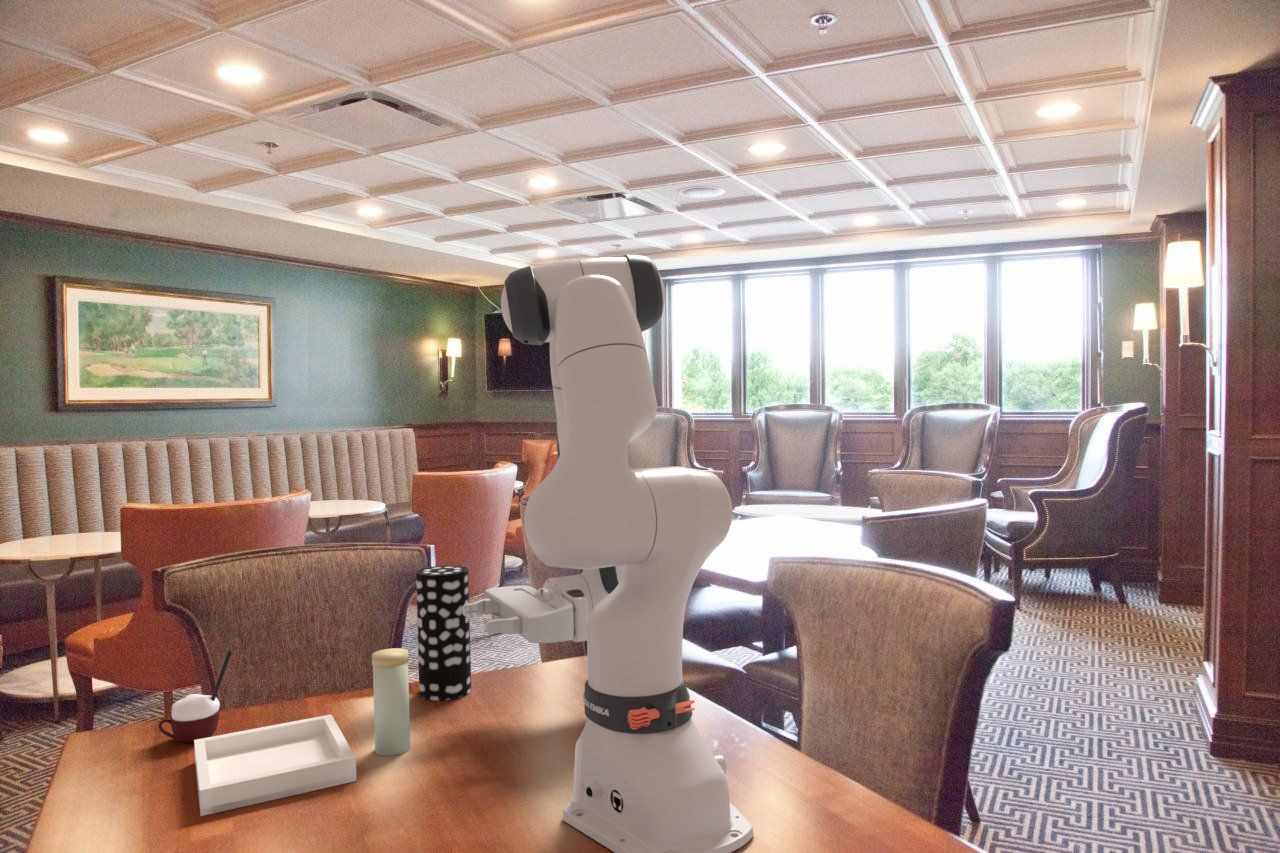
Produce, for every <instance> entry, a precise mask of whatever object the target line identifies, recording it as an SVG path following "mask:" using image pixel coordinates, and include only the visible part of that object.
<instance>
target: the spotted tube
mask: <svg viewBox="0 0 1280 853" xmlns="http://www.w3.org/2000/svg"><path fill="white" fill-rule="evenodd" d="M469 578H470V577H469V568H468V567H466V566H463V565H436V566H435V565H434V566H429V567H424V568H420V569H418V570H416V572H415V580H416V583H415V584H416V615H417V616H416V618H417V621H416V622H417V648H418V649H417V652H418V654H417V659H418V661H417V662H418V690H419V691H418V693H419V697H420V698H422V699H424V700H427V701H428V700H429V701H435V702H436V701H450V700H456V699H459V698H462V697H465V696H467V695H468V694H470V693H471V692H472V662H471V659H472V658H471V632H470V631H471V627H470V626H471V623H470V622H471V621H470V620H471V618H467V617H465V616H464V615H463V606H464V605H465V604H470V586H469V585H470V583H469V580H470V579H469Z"/></svg>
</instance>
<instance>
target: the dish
mask: <svg viewBox="0 0 1280 853" xmlns="http://www.w3.org/2000/svg"><path fill="white" fill-rule="evenodd" d="M193 744H194V745H193V746H194V747H193V748H194V766H195V776H196V785H197V786H196V787H197V795H198V805H199V814H200V815H199V816H200V817H204V816H207V815H213V814H217V813H222V812H225V811H230V810H234V809H238V808H243V807H248V806H252V805H256V804H260V803H265V802H270V801H274V800H278V799H283V798H287V797H291V796H295V795H296V796H297V795H301V794H305V793H309V792H313V791H317V790H322V789H327V788H330V787H331V788H332V787H335V786H340V785H345V784H348V783H354V782H357V757H356V755H355V753H354V751H353V750H352V748H351V746H350V744H349V743H348V741H347V740H346V737H345V736H344V734H343V732H342V731H341V729H340V727H339V725H338V723H337V722H336V720H335V719H334V717H333V715H332V713H331V714H326V715H320V716H316V717H310V718H303V719H299V720H294V721H289V722H282V723H279V724H278V723H276V724H274V725H273V724H271V725H267V726H261V727H257V728H251V729H246V730H241V731H240V730H239V731H234V732H230V733H225V734H224V733H223V734H220V735H219V734H218V735H212V736H210V737H207V738H202V739H197V740H194V743H193Z"/></svg>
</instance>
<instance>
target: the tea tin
mask: <svg viewBox="0 0 1280 853" xmlns="http://www.w3.org/2000/svg"><path fill="white" fill-rule="evenodd" d="M409 656H410V655H409V650H408V649H405V648H402V647H401V648H398V647H395V648H392V647H391V648H385V649H381V650H377V651H374V652H372V654H371V665H372V678H373V680H372V683H373V686H372V687H373V688H372V689H373V716H374V717H373V718H374V721H373V722H374V725H373V726H374V752H375V754H377V755H378V756H381V757H382V756H383V757H392V756H393V757H394V756H399V755H402V754H404V753H407V752H408V751H410V749H411V730H410V728H411V727H410V726H411V725H410V696H409V694H410V693H409V692H410V691H409V690H410V689H409V685H410V684H409V660H410V658H409Z"/></svg>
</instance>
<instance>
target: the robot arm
mask: <svg viewBox="0 0 1280 853" xmlns="http://www.w3.org/2000/svg"><path fill="white" fill-rule="evenodd" d="M665 290H666V289H665V285H664V282H663V278H662V275H661V274H660V272H659V270H658V268H657V266H656V264H655V262H653V261H652V259H651V258H649V257H648V256H645V255H640V254H639V255H638V254H624V256H607V257H606V256H603V257H602V256H601V257H599V256H598V257H587V258H577V257H576V258H571V259H570V258H569V259H568V258H567V259H564V260H559V261H554V262H550V263H549V262H548V263H544V264H541V265H537V266H534V267H532V266H531V265H528V266H525V267H522V268H519V269H516V270H514V271H511V272H510V273H509V274H508V276H507V277H505V280H504V286H503V289H502V292H501V298H500V309H501V310H500V311H501V314H502V319H503V320H504V323H505V325H506V326H507V328H508V330H509V331H510V332H511V334H512V337H513V339H515V340H516V341H519V342H520V343H521V344H525V345H534V346H535V345H536V346H543V344H545V343H549V366H550V377H551V384H552V393H553V400H554V406H555V415H556V416H555V417H556V449H557V450H556V451H557V461H556V463H555V464H554V467H553V468H552V470H550V472H549V473H548V475H546V477H545V478H544V479H543V480H542V481H541V482H540V483H539V484H537V486H536V487H535V488H534V490H533V491H532V493H531V494H530V496H529V499H528V501H527V504H526V507H525V512H524V517H523V519H524V521H523V524H524V525H523V526H524V533H525V538H526V541H527V543H528V545H529V547H530V548H531V551H532V552H533V554H534V555H535V556H536V557H537V558H538V559H539V561H541V562H542V563H543V564H544V565H545V566H547V567H551V568H561V569H570V570H582V572H581V573H579V574H572V575H571V574H570V575H565V576H559V577H558V576H556V577H550V578H548V579H546V580H545V582H544V583H543V586H542V587H538V589H536V588H534V587H532V586H529V585H526V584H525V585H523V584H521V585H519V584H518V585H506V586H498V587H496V586H495V587H490V588H486V589H485V590H484V592H483V598H481V599H479V600H477V601H475V602H473V603H469V604H465V605H464V606H463V615H464V616H465V617H467V618H470V619H471V618H473V619H474V618H478V616H481V615H490V616H491V617H493V618H488V619H485V620H484V621H483V630H484V632H485V633H486V634H487V635H490V636H491V635H496V634H503V635H519V636H520V637H521V638H524V639H525V640H526V641H527V642H529V643H533V644H550V643H560V642H561V643H562V642H567V641H573V642H575V643H582V642H586V648H587V649H586V650H587V651H586V652H587V654H586V655H587V679H586V680H585V682H584V691H583V703H584V707H583V708H584V715H585V716H586V717H587V718H586V721H585V724H584V728H583V729H582V731H581V734H580V735H579V737H578V738H577V740H576V742H575V746H574V748H575V750H574V761H573V762H574V763H573V784H572V786H573V787H572V800H571V801H570V802H568V803H567V804H566V805H565V806H564V808H563V810H562V820H563V821H564V822H565V823H567V824H568V825H570V826H571V827H573V828H574V829H576V830H578V831H579V832H582V833H583V834H584V835H586V836H588V837H590V838H591V839H593V840H594V841H595V842H597V843H599V844H600V845H602V846H604V847H606V848H607V849H609V850H610V851H612V852H613V853H732V852H734V851H736V850H738V849H740V848H742V847H743V846H745V845H746V844H747V843H748V842H749V841H751V839H752V838H753V836H754V829H753V824H751V823H750V821H749V820H748V819H747V818H746V817H745V815H743V814H742V812H740V810H738V808H737V807H736V806H735V805H734V804H733V803H732V802H731V801H730V791H729V789H730V788H729V783H728V779H727V775H726V774H727V770H728V769H727V762H726V760H725V758H724V755H721V754H716V755H714V754H713V752H712V750H711V748H710V746H708V743H707V742H706V739H705V737H704V734H702V733H700V731H699V729H698V727H697V726H696V724H695V722H694V720H693V718H692V716H693V711H694V710H695V709H696V708H695V707H692V705H693V704H694V703H695V700H693V699H692V700H690V699H691V695H690V693H689V692H690V691H689V690H688V687H687V686H688V685H687V683H686V680H685V678H684V677H683V640H684V639H683V638H684V636H683V634H684V620H685V613H686V612H685V611H686V608H687V603H688V600H689V597H690V594H691V591H692V588H693V586H694V584H695V583H694V582H695V581H696V578H697V576H698V574H699V573H700V571H701V568H702V566H703V565H704V563H705V562H706V561H707V560H708V558H709V557H710V555H711V554H712V553H713V552H714V551H715V550H716V549H717V548H718V546H720V545H721V544H722V543H723V541H725V540H726V538H727V536H728V534H729V531H730V528H731V525H732V520H733V506H732V504H733V503H732V500H731V496H730V493H729V492H728V489H727V487H726V486H725V484H724V482H723V481H722V479H720V477H718V475H716V474H715V473H713V472H710V471H707V470H703V469H702V470H701V469H698V468H691V467H685V466H678V465H676V466H663V467H662V466H661V467H646V468H645V467H644V468H643V467H642V468H630V465H629V461H628V448H629V444H630V443H632V442H634V441H635V440H636V439H638V438H639V437H640V436H642V435H643V434H644V433H645V432H646V431H647V430H648V429H649V428H650V427H651V426H652V424H653V422H654V420H655V418H656V415H657V412H658V402H657V396H656V392H655V391H656V390H655V387H654V382H653V377H652V373H651V367H650V363H649V358H648V353H647V349H646V344H645V340H644V336H643V332H645V331H647V330H649V329H651V328H653V327H654V326H655V325H656V324H657V323H658V321H659V320H660V319H661V318H662V316H663V312H664V307H665V300H666V299H665V298H666V291H665Z"/></svg>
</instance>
